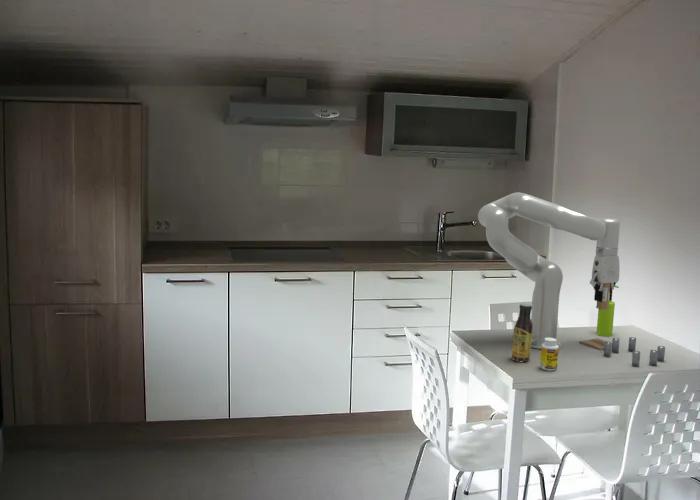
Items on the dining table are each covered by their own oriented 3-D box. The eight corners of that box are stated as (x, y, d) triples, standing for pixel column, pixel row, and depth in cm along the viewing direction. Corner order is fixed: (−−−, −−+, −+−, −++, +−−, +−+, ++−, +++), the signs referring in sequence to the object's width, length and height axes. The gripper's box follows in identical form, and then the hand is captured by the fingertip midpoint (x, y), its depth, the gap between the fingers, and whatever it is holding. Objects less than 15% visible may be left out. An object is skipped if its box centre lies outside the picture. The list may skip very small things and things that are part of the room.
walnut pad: (600, 350, 256) (600, 348, 256) (579, 342, 265) (579, 341, 265) (619, 346, 261) (619, 345, 261) (597, 339, 269) (597, 338, 269)
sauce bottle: (507, 359, 243) (511, 303, 240) (519, 356, 247) (522, 301, 244) (522, 364, 238) (526, 307, 235) (534, 360, 242) (538, 305, 239)
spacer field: (640, 369, 236) (642, 354, 235) (597, 353, 251) (598, 340, 251) (670, 362, 243) (671, 348, 242) (626, 348, 259) (627, 335, 258)
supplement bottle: (544, 371, 231) (547, 341, 229) (536, 366, 236) (538, 337, 234) (560, 370, 232) (562, 341, 230) (551, 365, 237) (553, 336, 236)
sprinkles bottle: (611, 309, 260) (614, 273, 258) (603, 310, 257) (606, 274, 255) (600, 306, 264) (603, 271, 262) (593, 308, 261) (595, 272, 259)
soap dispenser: (616, 336, 274) (621, 286, 271) (599, 336, 274) (603, 286, 271) (611, 332, 280) (615, 283, 277) (594, 332, 280) (598, 283, 277)
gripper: (598, 255, 250) (595, 304, 253) (630, 252, 258) (626, 300, 261) (582, 251, 256) (579, 300, 259) (614, 249, 264) (610, 296, 267)
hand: (602, 299), depth 260 cm, fingers closed on sprinkles bottle, 4 cm apart
